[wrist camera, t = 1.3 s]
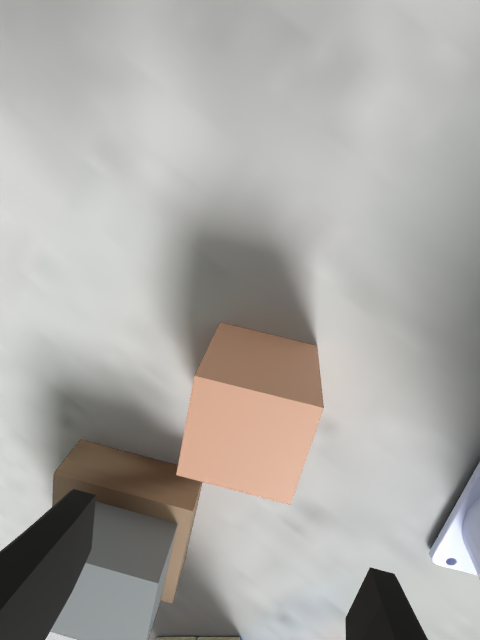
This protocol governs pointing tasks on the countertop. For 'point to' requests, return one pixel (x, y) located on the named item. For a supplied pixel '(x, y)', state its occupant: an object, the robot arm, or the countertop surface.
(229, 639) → the stack of blocks
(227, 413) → the terracotta block
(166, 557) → the gray top block
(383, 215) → the countertop surface
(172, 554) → the walnut base block
